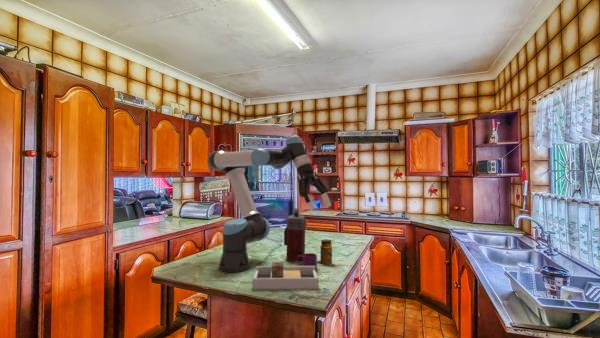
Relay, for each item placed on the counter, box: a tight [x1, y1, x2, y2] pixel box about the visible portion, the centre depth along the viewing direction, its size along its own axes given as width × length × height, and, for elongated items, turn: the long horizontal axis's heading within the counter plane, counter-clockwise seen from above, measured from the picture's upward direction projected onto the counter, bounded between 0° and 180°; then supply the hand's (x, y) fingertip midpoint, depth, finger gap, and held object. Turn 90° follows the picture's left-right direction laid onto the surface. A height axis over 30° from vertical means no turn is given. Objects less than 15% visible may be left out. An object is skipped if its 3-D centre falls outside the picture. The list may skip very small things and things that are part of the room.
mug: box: [296, 252, 318, 271], centre depth 138 cm, size 7×10×7 cm
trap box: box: [251, 265, 320, 290], centre depth 121 cm, size 27×16×4 cm, turn 93°
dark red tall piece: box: [283, 207, 306, 263], centre depth 154 cm, size 9×11×28 cm
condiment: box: [317, 239, 335, 267], centre depth 146 cm, size 7×8×12 cm
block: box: [271, 261, 285, 278], centre depth 121 cm, size 5×5×5 cm
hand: (321, 208), depth 124 cm, fingers open, 13 cm apart
